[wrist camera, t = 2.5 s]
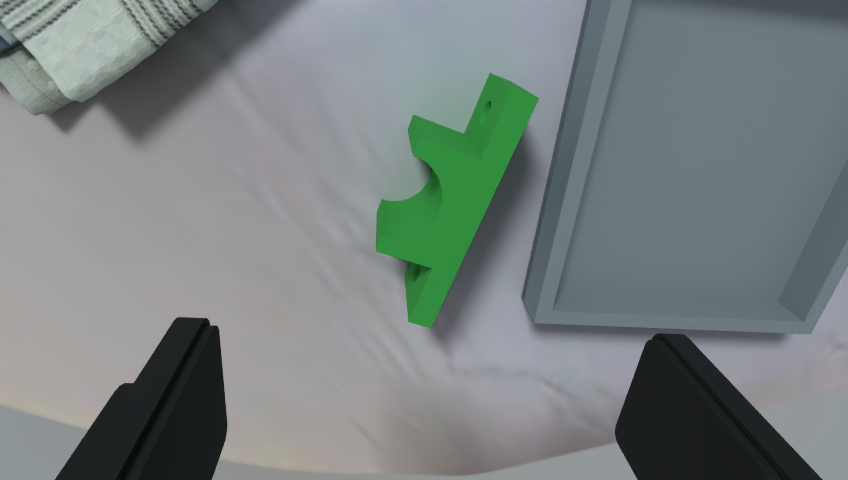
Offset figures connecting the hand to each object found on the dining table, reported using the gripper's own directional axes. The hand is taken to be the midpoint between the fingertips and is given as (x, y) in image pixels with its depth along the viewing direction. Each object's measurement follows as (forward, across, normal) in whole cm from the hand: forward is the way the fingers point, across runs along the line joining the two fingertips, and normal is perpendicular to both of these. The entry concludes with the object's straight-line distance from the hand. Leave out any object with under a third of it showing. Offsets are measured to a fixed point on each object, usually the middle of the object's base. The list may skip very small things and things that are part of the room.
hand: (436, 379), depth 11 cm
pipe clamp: (+15, -2, 0) cm, 15 cm away
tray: (+14, -15, -2) cm, 21 cm away
